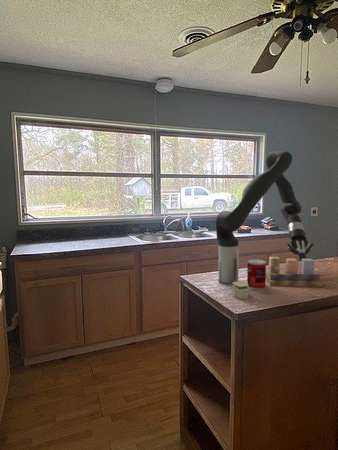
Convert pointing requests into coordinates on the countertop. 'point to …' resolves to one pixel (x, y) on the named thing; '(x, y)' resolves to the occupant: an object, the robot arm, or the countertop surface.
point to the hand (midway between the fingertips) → (303, 260)
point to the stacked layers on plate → (240, 289)
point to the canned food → (256, 273)
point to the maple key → (274, 265)
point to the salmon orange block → (291, 266)
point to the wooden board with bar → (294, 279)
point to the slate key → (307, 266)
